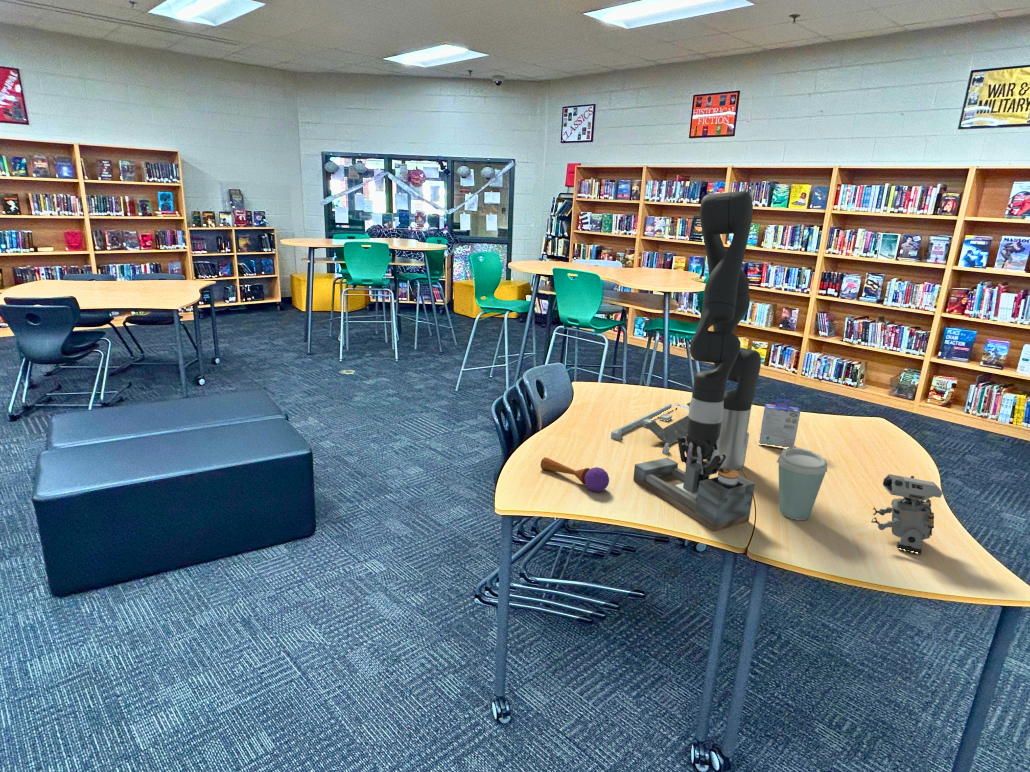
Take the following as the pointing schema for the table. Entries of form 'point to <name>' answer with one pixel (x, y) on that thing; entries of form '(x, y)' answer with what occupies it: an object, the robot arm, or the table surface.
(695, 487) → the carriage
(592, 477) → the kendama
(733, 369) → the robot arm
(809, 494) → the disposable coffee cup
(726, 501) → the grey stepped base
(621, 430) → the paper cutter
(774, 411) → the ink cartridge box
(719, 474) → the button
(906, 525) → the figurine
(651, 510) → the table surface
